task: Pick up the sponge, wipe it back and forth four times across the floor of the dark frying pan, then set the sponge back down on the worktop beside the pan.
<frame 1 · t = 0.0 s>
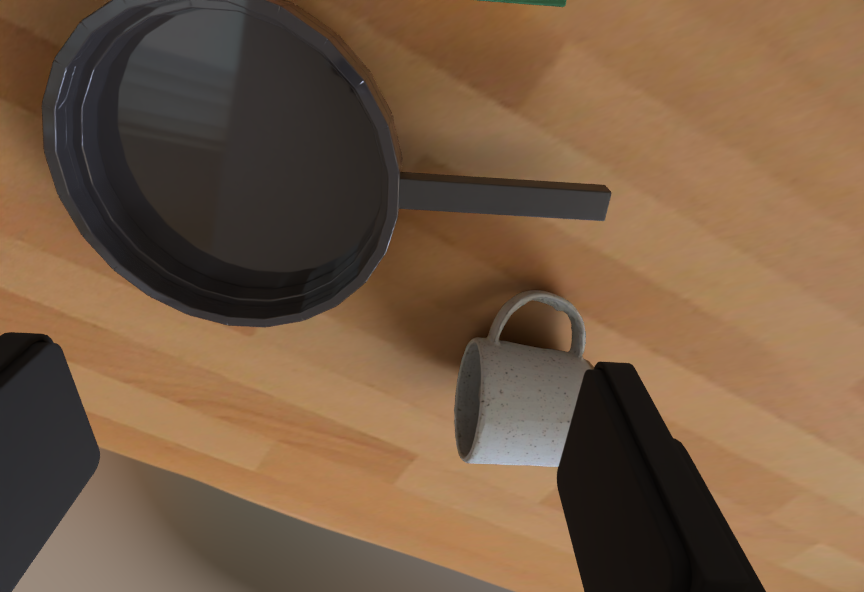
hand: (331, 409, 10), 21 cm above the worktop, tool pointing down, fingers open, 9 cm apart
pan: (248, 164, 29), on the worktop
pan handle: (501, 196, 27), point 2 cm above the worktop
ceramic mug: (517, 350, 36), on the worktop
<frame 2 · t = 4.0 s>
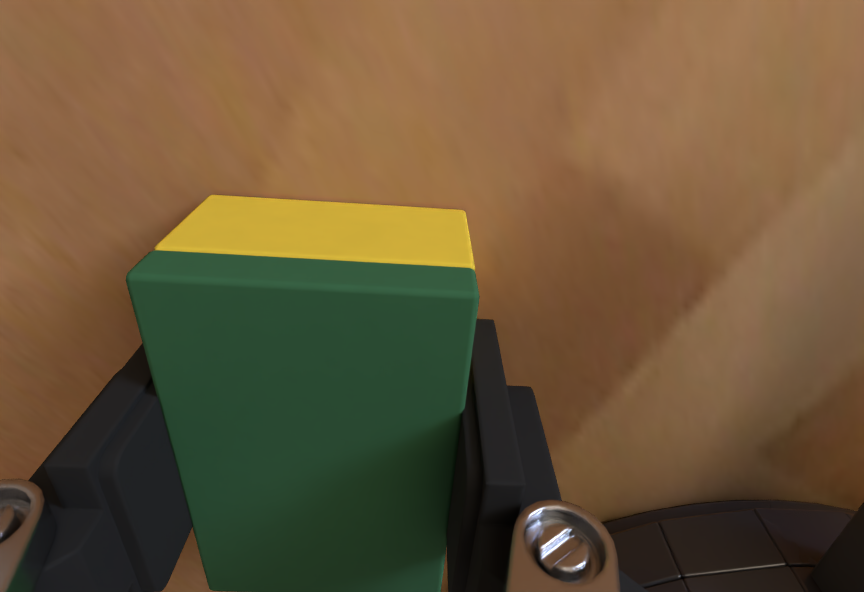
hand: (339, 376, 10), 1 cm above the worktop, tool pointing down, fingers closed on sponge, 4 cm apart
sponge: (343, 359, 11), on the worktop, touching gripper
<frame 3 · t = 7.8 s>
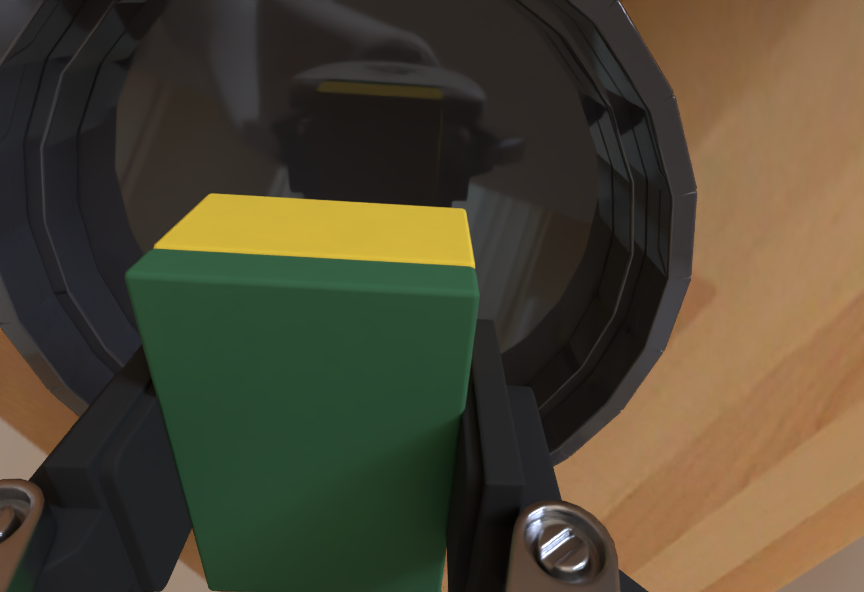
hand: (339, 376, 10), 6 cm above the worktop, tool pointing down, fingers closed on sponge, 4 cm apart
sponge: (343, 358, 11), point 6 cm above the worktop, touching gripper
pan: (355, 241, 16), on the worktop
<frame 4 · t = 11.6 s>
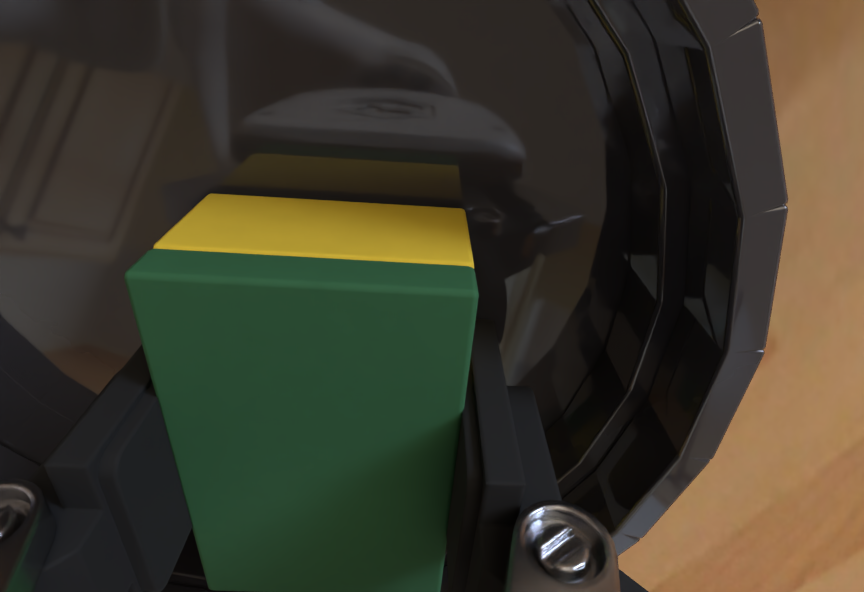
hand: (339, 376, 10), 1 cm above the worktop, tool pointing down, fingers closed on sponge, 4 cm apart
sponge: (342, 358, 11), point 1 cm above the worktop, touching gripper
pan: (245, 273, 11), on the worktop
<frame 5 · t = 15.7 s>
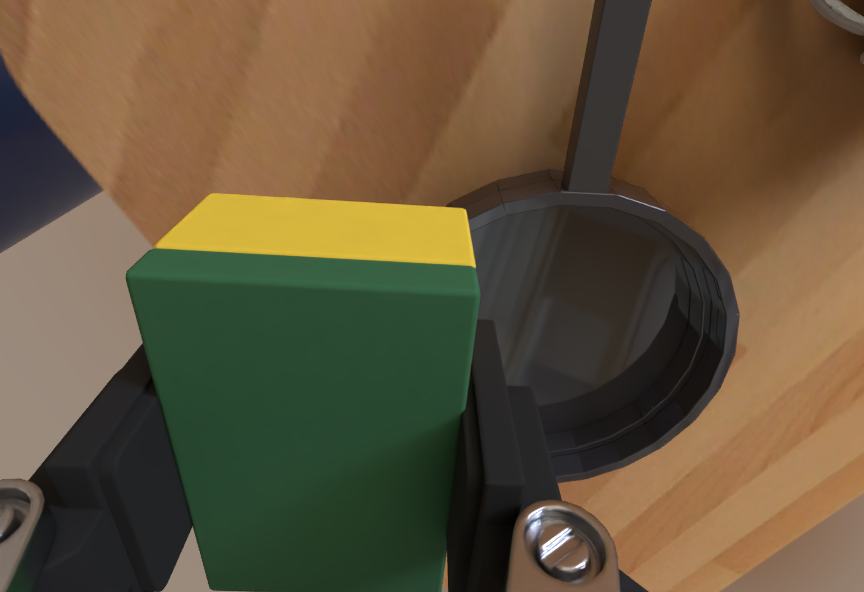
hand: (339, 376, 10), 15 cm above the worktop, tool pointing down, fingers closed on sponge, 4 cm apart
sponge: (343, 358, 11), point 15 cm above the worktop, touching gripper
pan: (538, 323, 28), on the worktop
pan handle: (613, 42, 18), point 2 cm above the worktop
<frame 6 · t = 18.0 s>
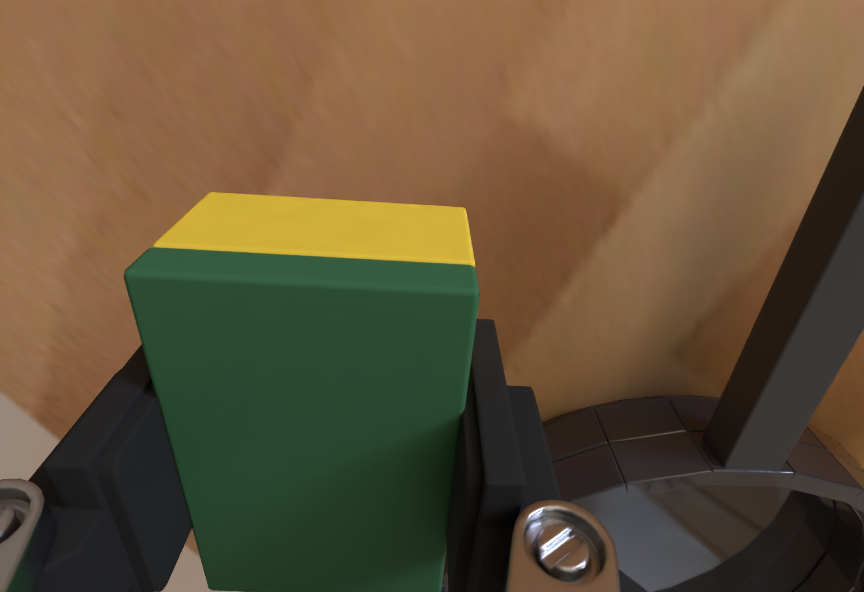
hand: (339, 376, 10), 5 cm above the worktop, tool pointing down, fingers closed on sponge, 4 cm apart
sponge: (343, 357, 11), point 4 cm above the worktop, touching gripper
pan: (625, 548, 21), on the worktop
pan handle: (828, 283, 11), point 2 cm above the worktop
when the fingers open (0 cm above the worktop, at t = 19.3 s): sponge stays where it is, on the worktop.
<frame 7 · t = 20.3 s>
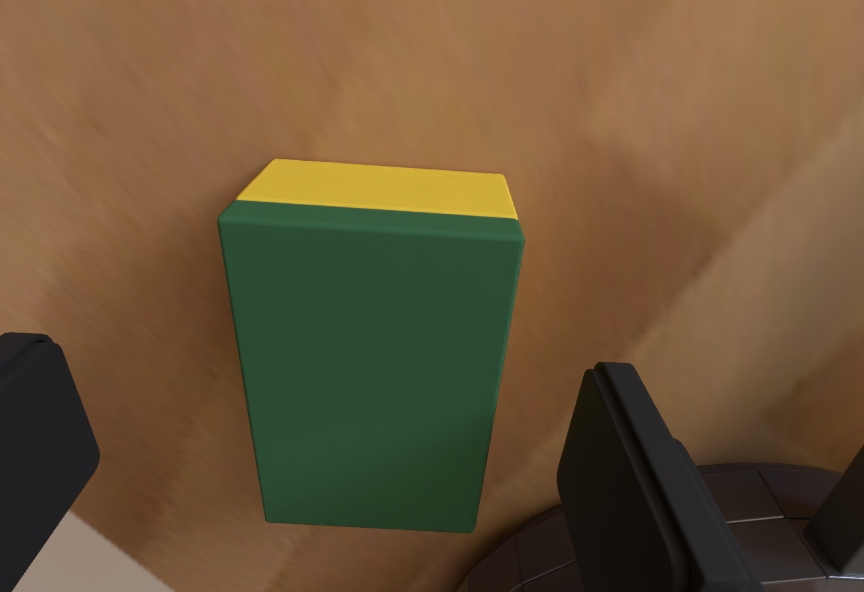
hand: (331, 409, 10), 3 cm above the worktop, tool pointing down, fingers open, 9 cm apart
sponge: (385, 316, 12), on the worktop
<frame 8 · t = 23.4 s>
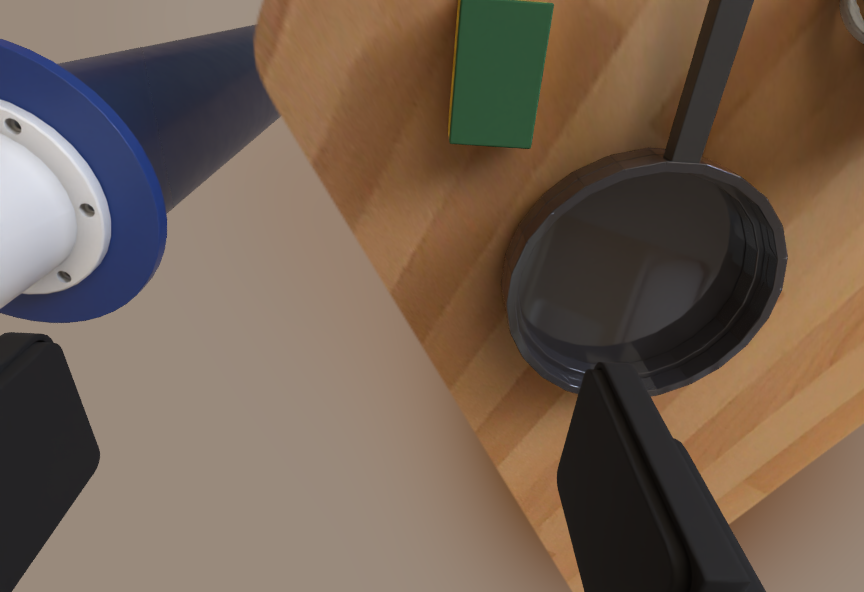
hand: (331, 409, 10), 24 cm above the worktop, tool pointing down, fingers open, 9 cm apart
sponge: (492, 70, 29), on the worktop
pan: (625, 271, 36), on the worktop
pan handle: (713, 55, 26), point 2 cm above the worktop
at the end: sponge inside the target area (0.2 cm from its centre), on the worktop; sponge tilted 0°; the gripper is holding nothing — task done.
